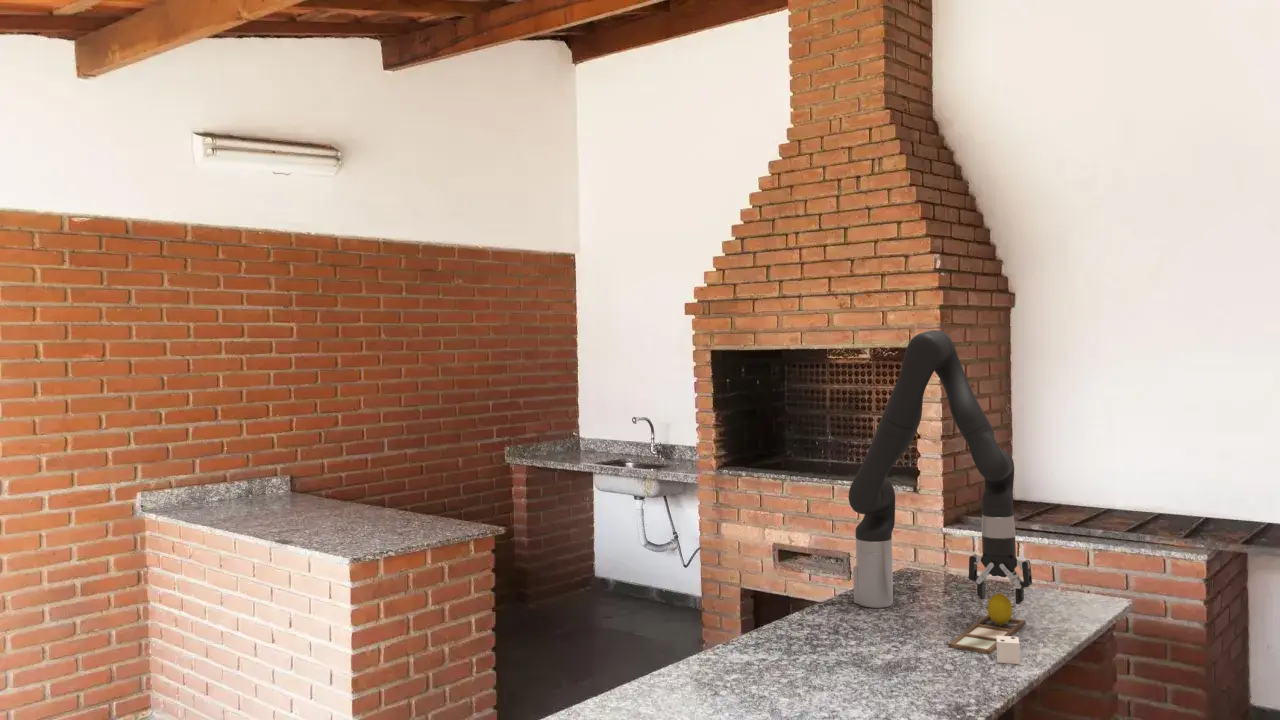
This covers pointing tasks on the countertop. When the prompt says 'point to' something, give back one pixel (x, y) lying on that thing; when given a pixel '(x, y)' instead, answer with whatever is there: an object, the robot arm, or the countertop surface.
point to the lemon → (999, 609)
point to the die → (1008, 649)
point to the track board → (984, 636)
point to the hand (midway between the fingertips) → (1000, 601)
